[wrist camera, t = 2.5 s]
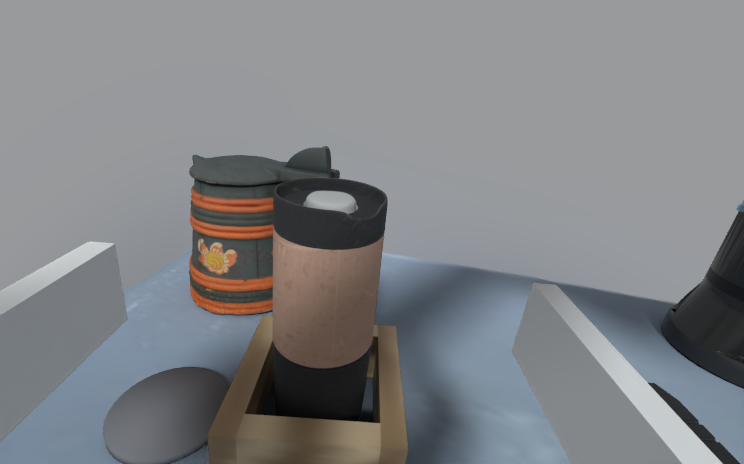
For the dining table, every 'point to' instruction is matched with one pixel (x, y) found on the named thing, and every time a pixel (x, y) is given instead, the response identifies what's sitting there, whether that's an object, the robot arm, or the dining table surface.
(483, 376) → the dining table surface
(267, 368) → the frame
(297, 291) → the travel mug
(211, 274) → the beer stein
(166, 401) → the coaster
